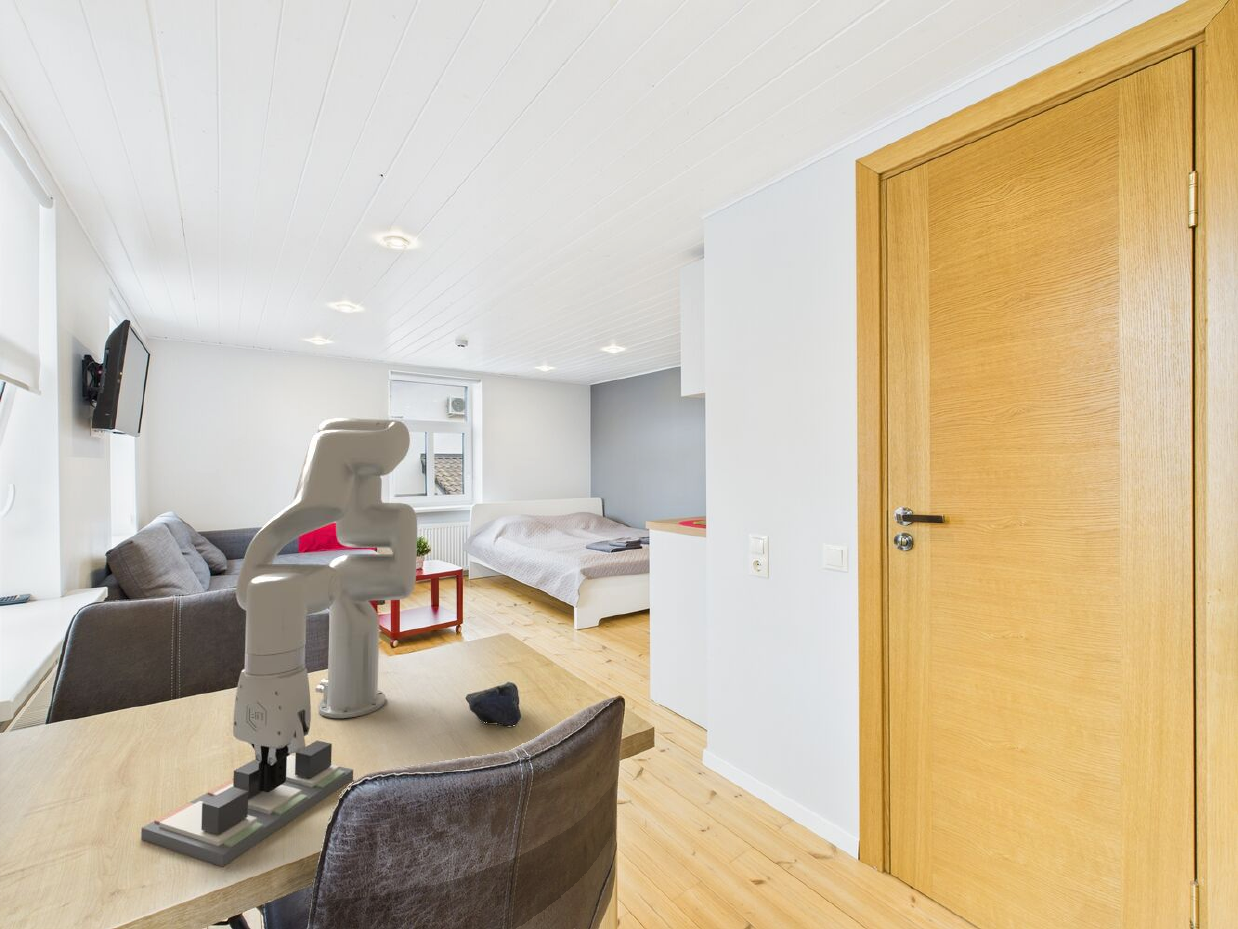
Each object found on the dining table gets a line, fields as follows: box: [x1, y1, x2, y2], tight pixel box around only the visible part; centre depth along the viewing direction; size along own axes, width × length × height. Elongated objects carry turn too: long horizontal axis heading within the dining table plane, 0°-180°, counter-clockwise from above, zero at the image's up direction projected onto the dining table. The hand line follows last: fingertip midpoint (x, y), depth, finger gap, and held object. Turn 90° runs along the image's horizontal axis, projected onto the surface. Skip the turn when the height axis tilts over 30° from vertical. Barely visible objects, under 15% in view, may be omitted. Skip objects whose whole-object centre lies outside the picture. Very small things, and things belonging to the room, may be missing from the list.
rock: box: [464, 681, 522, 727], centre depth 111 cm, size 16×8×10 cm
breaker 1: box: [201, 787, 248, 835], centre depth 74 cm, size 3×4×4 cm
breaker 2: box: [294, 740, 333, 779], centre depth 87 cm, size 3×4×4 cm
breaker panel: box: [140, 754, 354, 868], centre depth 81 cm, size 15×21×2 cm
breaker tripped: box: [232, 759, 261, 799], centre depth 81 cm, size 3×4×4 cm
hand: (272, 786), depth 80 cm, fingers closed
